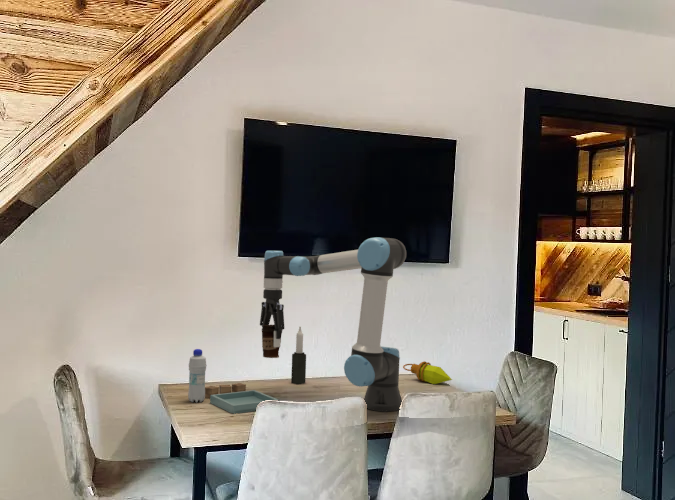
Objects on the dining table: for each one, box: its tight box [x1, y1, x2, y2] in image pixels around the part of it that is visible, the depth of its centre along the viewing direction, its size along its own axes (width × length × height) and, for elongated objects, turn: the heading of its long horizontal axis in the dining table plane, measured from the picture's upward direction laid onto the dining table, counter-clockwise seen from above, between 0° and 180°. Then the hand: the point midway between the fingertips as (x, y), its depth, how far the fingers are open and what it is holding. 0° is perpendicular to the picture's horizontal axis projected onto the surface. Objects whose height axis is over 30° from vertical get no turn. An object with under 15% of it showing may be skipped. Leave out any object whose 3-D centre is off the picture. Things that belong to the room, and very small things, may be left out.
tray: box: [209, 389, 280, 415], centre depth 253 cm, size 19×19×3 cm
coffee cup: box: [261, 324, 284, 359], centre depth 271 cm, size 9×8×13 cm
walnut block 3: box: [231, 382, 247, 393], centre depth 272 cm, size 4×4×4 cm
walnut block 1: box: [205, 385, 219, 399], centre depth 265 cm, size 4×4×4 cm
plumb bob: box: [402, 360, 453, 385], centre depth 308 cm, size 9×9×25 cm
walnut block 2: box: [218, 384, 232, 394], centre depth 268 cm, size 4×4×4 cm
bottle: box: [187, 348, 207, 404], centre depth 257 cm, size 7×7×20 cm
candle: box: [290, 326, 307, 385], centre depth 297 cm, size 5×5×25 cm
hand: (271, 345), depth 271 cm, fingers closed on coffee cup, 8 cm apart
